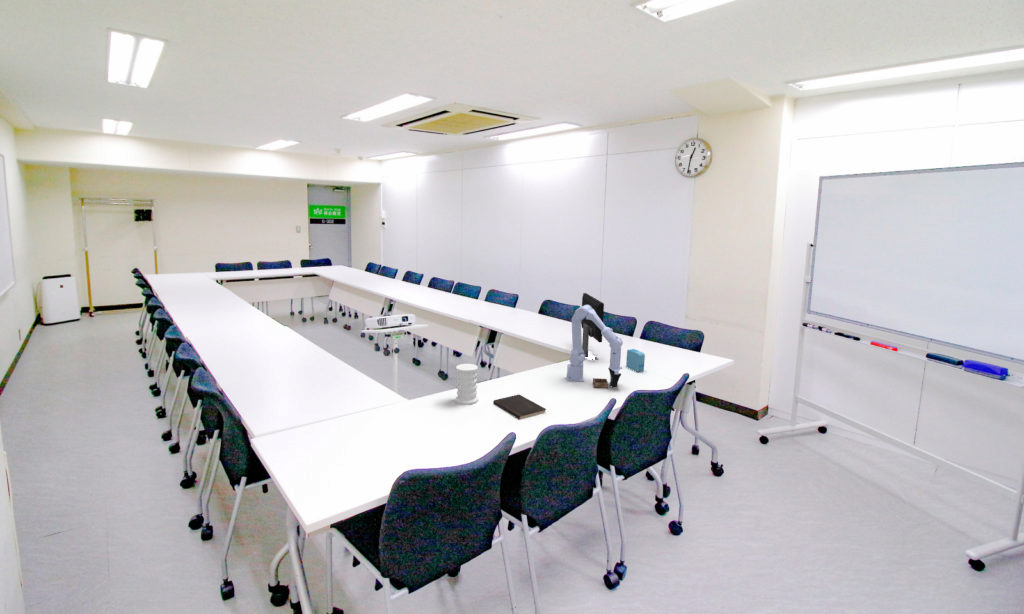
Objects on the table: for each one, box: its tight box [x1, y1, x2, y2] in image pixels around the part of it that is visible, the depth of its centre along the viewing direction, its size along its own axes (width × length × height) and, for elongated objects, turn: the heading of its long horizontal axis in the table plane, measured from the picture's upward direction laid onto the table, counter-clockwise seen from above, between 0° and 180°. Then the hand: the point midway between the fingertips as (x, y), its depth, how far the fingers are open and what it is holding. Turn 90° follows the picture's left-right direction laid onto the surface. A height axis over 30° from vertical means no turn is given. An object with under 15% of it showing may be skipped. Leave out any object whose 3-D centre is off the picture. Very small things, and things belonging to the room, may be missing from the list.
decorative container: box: [455, 363, 479, 406], centre depth 249 cm, size 12×12×18 cm
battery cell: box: [609, 376, 618, 388], centre depth 275 cm, size 4×4×7 cm
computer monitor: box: [581, 292, 605, 361], centre depth 331 cm, size 41×8×40 cm, turn 8°
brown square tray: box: [592, 377, 609, 389], centre depth 276 cm, size 8×8×3 cm
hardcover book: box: [492, 394, 547, 420], centre depth 243 cm, size 16×23×2 cm
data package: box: [625, 348, 646, 373], centre depth 305 cm, size 12×4×12 cm, turn 24°
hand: (613, 382), depth 275 cm, fingers open, 7 cm apart
